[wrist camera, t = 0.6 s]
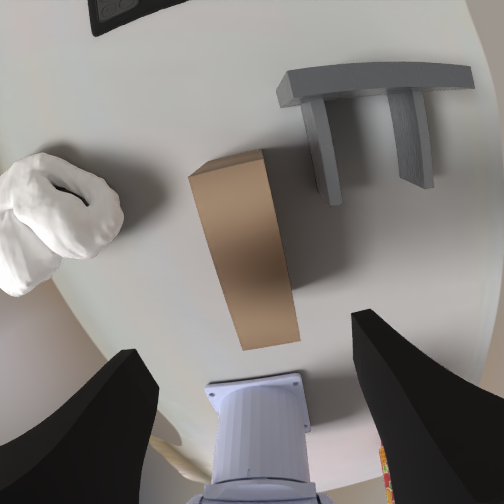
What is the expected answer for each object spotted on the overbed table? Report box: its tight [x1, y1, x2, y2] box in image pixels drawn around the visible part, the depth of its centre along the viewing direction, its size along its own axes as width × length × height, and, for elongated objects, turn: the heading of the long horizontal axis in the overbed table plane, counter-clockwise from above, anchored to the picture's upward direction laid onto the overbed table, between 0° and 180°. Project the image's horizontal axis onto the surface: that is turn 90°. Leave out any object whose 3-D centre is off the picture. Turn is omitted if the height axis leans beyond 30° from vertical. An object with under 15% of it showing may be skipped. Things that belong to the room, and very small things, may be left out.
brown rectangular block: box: [188, 149, 301, 351], centre depth 15 cm, size 9×3×5 cm, turn 13°
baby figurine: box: [0, 153, 124, 297], centre depth 15 cm, size 9×12×8 cm
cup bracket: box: [276, 62, 475, 206], centre depth 12 cm, size 6×8×6 cm
